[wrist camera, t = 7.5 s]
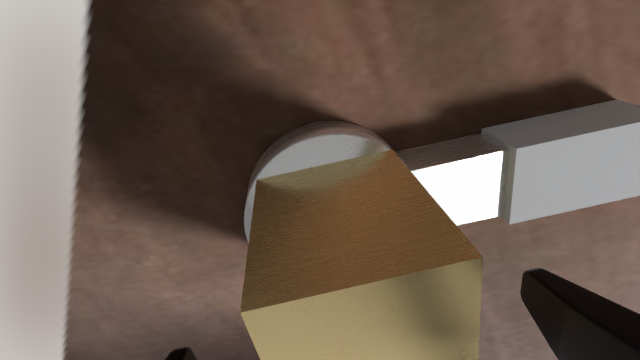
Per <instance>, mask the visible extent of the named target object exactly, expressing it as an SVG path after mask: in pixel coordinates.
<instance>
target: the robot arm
mask: <svg viewBox="0 0 640 360" xmlns="http://www.w3.org/2000/svg"><path fill="white" fill-rule="evenodd" d="M520 293H521V298H522V301H523V302H524V304H525V306H526V308H527V309H528V311H529V312H530V314H531V316H532V317H533V319H534V321H535V322H536V324H537V326H538V327H539V329H540V331H541V332H542V334H543V336H544V337H545V339H546V341H547V342H548V344H549V346H550V347H551V349H552V350H553V352H554V354H555V355H556V357H557V358H558V360H640V314H638V313H636V312H634V311H632V310H630V309H628V308H625V307H623V306H621V305H619V304H617V303H615V302H613V301H611V300H608V299H606V298H604V297H602V296H600V295H598V294H596V293H594V292H591V291H589V290H587V289H585V288H583V287H581V286H579V285H576V284H574V283H572V282H570V281H568V280H566V279H564V278H562V277H559V276H557V275H555V274H553V273H551V272H549V271H547V270H545V269H542V268H535V269H530V270H526V271H525V272H524V273H523V277H522V284H521V291H520ZM165 360H197V359H196V357H195V355H194V353H193V351H192V350H191V348H190V347H182V348H178V349H174V350H173V351H172V352H171V353H170V354H169V355H168V356H167V358H166V359H165Z"/></svg>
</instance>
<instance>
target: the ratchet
mask: <svg viewBox="0 0 640 360" xmlns="http://www.w3.org/2000/svg"><path fill="white" fill-rule="evenodd" d="M391 149H392V148H391V147H390V146H389V144H388V143H387V142H386V141H385V140H384V139H382V138H381V137H380V136H379V135H377V134H376V133H374V132H372V131H371V130H369V129H367V128H365V127H362V126H360V125H357V124H353V123H349V122H342V121H322V122H315V123H310V124H307V125H303V126H301V127H298V128H296V129H293V130H291V131H289V132H288V133H286V134H284V135H283V136H281V137H280V138H279V139H277V140H276V141H275V142H273V143H272V144H271V145H270V146H269V147H268V148H267V149H266V150H265V152H264V153H263V154H262V156H261V157H260V158H259V160H258V162H257V163H256V165H255V167H254V169H253V172H252V175H251V177H250V182H249V186H248V193H247V199H246V205H245V212H244V227H245V233H246V237H247V241H248V243H249V237H250V228H251V220H252V212H253V204H254V196H255V187H256V180H257V179H262V178H266V177H271V176H275V175H279V174H284V173H288V172H293V171H297V170H302V169H306V168H311V167H315V166H320V165H324V164H329V163H333V162H338V161H342V160H347V159H351V158H356V157H360V156H365V155H369V154H374V153H378V152H383V151H387V150H391ZM392 150H393V149H392ZM393 151H394V150H393ZM394 152H395V151H394ZM395 153H396V154H397V155H398V157H399V158H400V159H401V160H402V161H403V163H404V164H405V165H406V166H407V167H408V169H409V170H410V171H411V172H412V173H413V175H414V176H415V177H416V178H417V179H418V180H419V182H420V183H421V184H422V185H423V186H424V188H425V189H426V190H427V191H428V192H429V194H430V195H431V196H432V197H433V198H434V200H435V201H436V202H437V203H438V204H439V205H440V207H441V208H442V209H443V210H444V211H445V213H446V214H447V215H448V216H449V217H450V219H451V220H452V221H453V222H454V223H455V225H456V226H457V225H462V224H466V223H471V222H475V221H480V220H484V219H489V218H493V217H498V216H501V217H502V218H503V219H504V220H505V221H506V222H507V223H508V224H513V223H518V222H522V221H527V220H531V219H536V218H541V217H545V216H550V215H554V214H559V213H563V212H568V211H572V210H577V209H581V208H586V207H590V206H595V205H599V204H604V203H608V202H613V201H617V200H622V199H626V198H631V197H635V196H640V106H639V105H635V104H631V103H628V102H624V101H620V100H612V101H607V102H603V103H598V104H593V105H589V106H584V107H579V108H575V109H570V110H566V111H561V112H556V113H552V114H547V115H542V116H538V117H533V118H528V119H524V120H519V121H515V122H510V123H505V124H501V125H496V126H491V127H487V128H482V129H481V133H479V134H474V135H470V136H465V137H460V138H456V139H451V140H447V141H442V142H437V143H433V144H428V145H423V146H419V147H414V148H409V149H405V150H400V151H396V152H395Z"/></svg>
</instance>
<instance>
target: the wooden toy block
mask: <svg viewBox="0 0 640 360" xmlns="http://www.w3.org/2000/svg"><path fill="white" fill-rule="evenodd" d="M482 265H483V257H482V255H481V254H480V253H479V252H478V251H477V250H476V248H475V247H474V246H473V245H472V244H471V242H470V241H469V240H468V239H467V238H466V236H465V235H464V234H463V233H462V232H461V230H460V229H459V228H458V227H457V226H456V225H455V223H454V222H453V221H452V220H451V219H450V217H449V216H448V215H447V214H446V213H445V211H444V210H443V209H442V208H441V207H440V205H439V204H438V203H437V202H436V201H435V200H434V198H433V197H432V196H431V195H430V194H429V192H428V191H427V190H426V189H425V188H424V186H423V185H422V184H421V183H420V182H419V180H418V179H417V178H416V177H415V176H414V175H413V173H412V172H411V171H410V170H409V169H408V167H407V166H406V165H405V164H404V163H403V161H402V160H401V159H400V158H399V157H398V155H397V154H396V153H395V152H394V151H393V150H392V149H391V150H387V151H383V152H378V153H374V154H369V155H365V156H360V157H356V158H351V159H347V160H342V161H338V162H333V163H329V164H324V165H320V166H315V167H311V168H306V169H302V170H297V171H293V172H288V173H284V174H279V175H275V176H271V177H266V178H262V179H257V180H256V187H255V196H254V204H253V212H252V220H251V228H250V237H249V245H248V253H247V261H246V270H245V278H244V286H243V294H242V302H241V311H240V313H241V316H242V318H243V320H244V323H245V325H246V327H247V330H248V332H249V334H250V337H251V339H252V341H253V344H254V346H255V348H256V351H257V353H258V355H259V358H260V360H478V355H479V333H480V310H481V288H482Z"/></svg>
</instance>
